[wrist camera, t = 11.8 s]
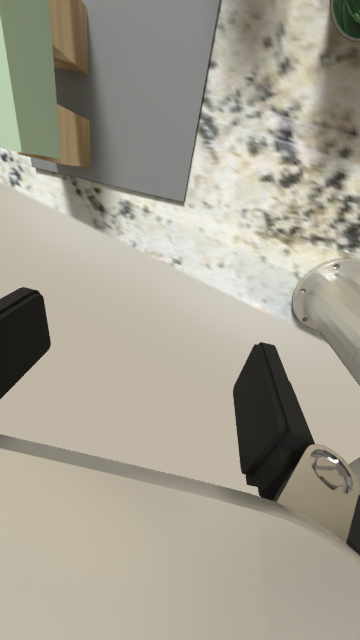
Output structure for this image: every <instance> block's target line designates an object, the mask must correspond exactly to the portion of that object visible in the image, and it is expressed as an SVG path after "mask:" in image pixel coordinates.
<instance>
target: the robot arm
mask: <svg viewBox="0 0 360 640" xmlns="http://www.w3.org/2000/svg"><path fill="white" fill-rule="evenodd" d="M334 265H335V266H334ZM301 289H302V290H301ZM292 304H293V310H294V313H295V315H296V316H297V318H298V319H299V320H300V322H301V323H303V324H304V325H305V326H307V327H309V328H312V329H315V330H319V331H320V333H321V334H322V335H323V337H324V338H325V339H326V341H327V342H328V344H329V345H330V346H331V348H332V349H333V350H334V352H335V353H336V354H337V356H338V357H339V358H340V360H341V361H342V363H343V364H344V365H345V367H346V368H347V369H348V371H349V372H350V374H351V375H352V376H353V378H354V379H355V380H356V381H357V383H358V384H359V385H360V260H359V259H354V258H342V259H335V260H332V261H329V262H326V263H324V264H322V265H319V266H318V267H316V268H315V269H313V270H312V271H310V272H309V273H308V274H307V275H306V276H305V277H304V278H303V279H302V280H301V281H300V283H299V284H298V286H297V288H296V289H295V292H294V295H293V301H292ZM50 344H51V342H50V336H49V330H48V324H47V318H46V311H45V305H44V299H43V296H42V295H40V293H39V291H37V290H33V289H29V288H24V287H22V288H19V289H18V290H16V291H14V292H12V293H10V294H9V295H7V296H5V297H3V298H1V299H0V399H1V398H2V397H3V396H4V395H5V394H6V393H7V392H8V391H9V390H10V389H11V388H12V387H13V386H14V385H15V383H17V382H18V381H19V380H20V379H21V377H23V376H24V374H25V373H26V372H27V371H28V370H29V369H30V368H31V367H32V366H33V365H34V364H35V363H36V362H37V361H38V360H39V359H40V358H41V357H42V356H43V355H44V354H45V353H46V352H47V350H49V348H50ZM233 397H234V407H235V416H236V426H237V436H238V445H239V455H240V464H241V471H242V473H243V474H246V481H247V485H251V486H256V487H258V491H259V495H260V496H261V497H258V496H255V495H252V494H249V493H245V492H241V491H237V490H233V489H229V488H225V487H221V486H217V485H214V484H210V483H206V482H202V481H198V480H193V479H189V478H185V477H181V476H177V475H173V474H169V473H164V472H160V471H155V470H151V469H147V468H143V467H139V466H135V465H130V464H126V463H122V462H118V461H113V460H109V459H105V458H100V457H96V456H92V455H88V454H83V453H79V452H75V451H70V450H66V449H61V448H57V447H53V446H48V445H44V444H40V443H35V442H31V441H27V440H22V439H18V438H14V437H9V436H5V435H0V640H360V457H359V458H358V459H356V460H355V461H353V462H352V463H350V464H349V465H348V464H347V463H346V461H345V460H344V459H343V458H342V457H340V456H339V455H338V454H337V453H336V452H334V451H333V450H331V449H330V448H328V447H325V446H323V445H317V444H315V443H314V440H313V438H312V435H311V433H310V430H309V428H308V425H307V423H306V420H305V418H304V415H303V413H302V410H301V408H300V405H299V403H298V401H297V398H296V395H295V393H294V390H293V388H292V385H291V383H290V381H289V380H288V378H287V375H286V373H285V370H284V367H283V365H282V362H281V360H280V358H279V355H278V352H277V350H276V347H275V346H274V345H271V344H266V343H262V342H261V343H259V344H258V345H254V347H253V349H252V351H251V353H250V355H249V357H248V359H247V361H246V363H245V365H244V367H243V369H242V371H241V373H240V375H239V377H238V379H237V381H236V383H235V385H234V389H233Z"/></svg>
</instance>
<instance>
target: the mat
mask: <svg viewBox="0 0 360 640" xmlns="http://www.w3.org/2000/svg"><path fill="white" fill-rule="evenodd" d="M82 1H83V3H84V4H85V6H86V7H87V42H88V75H84V74H80V73H75V72H71V71H67V70H62V69H58V68H54V74H55V86H56V99H57V104H58V105H60V106H62V107H64V108H66V109H68V110H70V111H72V112H74V113H76V114H78V115H80V116H82V117H83V118H85V119H87V120H89V129H90V168H88V167H80V166H72V165H64V164H59V163H54V162H50V161H46V160H41V159H37V158H33V157H31V162H32V167H35V168H39V169H43V170H48V171H52V172H56V173H61V174H65V175H69V176H74V177H78V178H82V179H87V180H91V181H95V182H100V183H104V184H108V185H113V186H117V187H121V188H126V189H130V190H134V191H139V192H143V193H147V194H151V195H156V196H160V197H164V198H169V199H173V200H177V201H182V202H184V198H185V192H186V187H187V181H188V176H189V170H190V165H191V159H192V154H193V148H194V142H195V137H196V131H197V126H198V120H199V115H200V109H201V103H202V98H203V92H204V87H205V81H206V76H207V70H208V65H209V59H210V53H211V48H212V42H213V37H214V31H215V26H216V20H217V14H218V9H219V3H220V0H82Z"/></svg>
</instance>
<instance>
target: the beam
mask: <svg viewBox="0 0 360 640" xmlns="http://www.w3.org/2000/svg"><path fill="white" fill-rule="evenodd" d="M0 148H5V149H9V150H13V151H17V152H22V153H28V154H34V155H40V156H46V157H52V158H59V159H61V150H60V137H59V125H58V112H57V99H56V86H55V74H54V61H53V48H52V36H51V23H50V10H49V0H0Z"/></svg>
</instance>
